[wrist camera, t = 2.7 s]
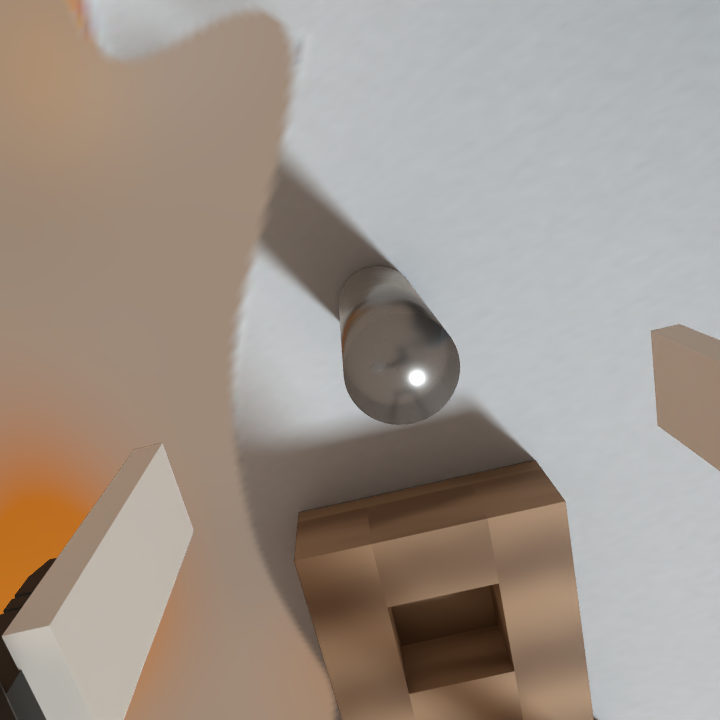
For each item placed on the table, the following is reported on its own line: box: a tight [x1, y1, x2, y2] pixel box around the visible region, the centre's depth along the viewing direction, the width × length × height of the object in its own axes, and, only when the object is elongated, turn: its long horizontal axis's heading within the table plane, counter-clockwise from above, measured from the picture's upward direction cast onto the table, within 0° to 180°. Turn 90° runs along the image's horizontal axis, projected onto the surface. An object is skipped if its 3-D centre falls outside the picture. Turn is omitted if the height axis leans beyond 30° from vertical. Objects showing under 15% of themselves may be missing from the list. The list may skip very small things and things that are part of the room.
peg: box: [339, 266, 460, 425], centre depth 25 cm, size 4×4×11 cm
